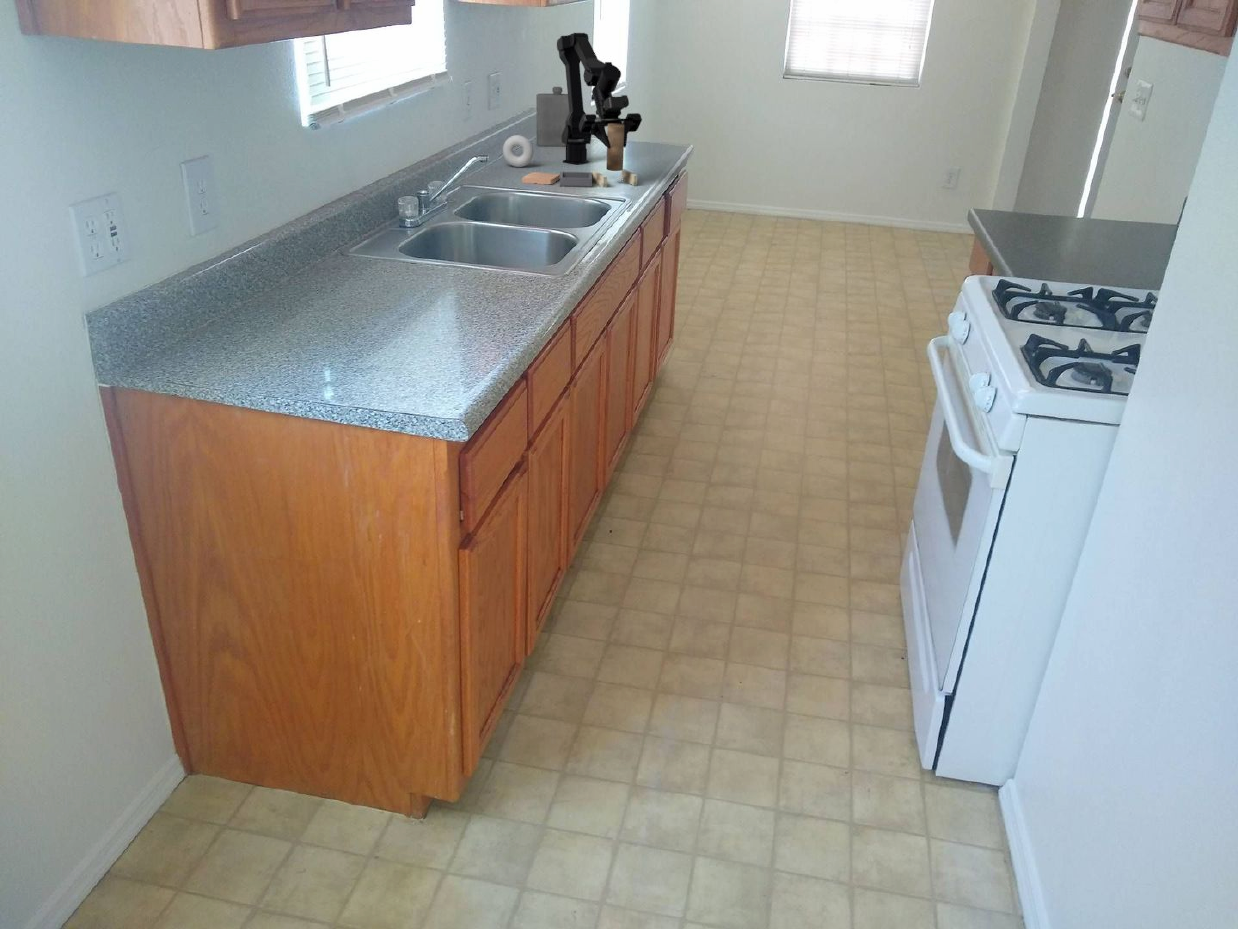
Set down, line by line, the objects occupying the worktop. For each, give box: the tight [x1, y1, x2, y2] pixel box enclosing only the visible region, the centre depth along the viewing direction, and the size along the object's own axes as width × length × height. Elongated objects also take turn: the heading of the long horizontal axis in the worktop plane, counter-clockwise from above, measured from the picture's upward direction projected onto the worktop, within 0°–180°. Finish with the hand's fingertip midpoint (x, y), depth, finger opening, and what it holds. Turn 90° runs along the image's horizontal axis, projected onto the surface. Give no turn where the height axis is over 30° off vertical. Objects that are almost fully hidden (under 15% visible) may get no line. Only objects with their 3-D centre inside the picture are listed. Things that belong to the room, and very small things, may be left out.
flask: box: [535, 86, 569, 148], centre depth 342 cm, size 15×6×20 cm, turn 96°
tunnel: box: [591, 168, 638, 188], centre depth 290 cm, size 10×11×3 cm
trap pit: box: [559, 171, 593, 188], centre depth 288 cm, size 10×10×2 cm
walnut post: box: [606, 123, 624, 172], centre depth 286 cm, size 5×5×13 cm
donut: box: [502, 134, 534, 168], centre depth 306 cm, size 10×4×10 cm, turn 87°
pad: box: [521, 171, 560, 185], centre depth 290 cm, size 9×9×2 cm
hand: (617, 146), depth 285 cm, fingers closed on walnut post, 5 cm apart
